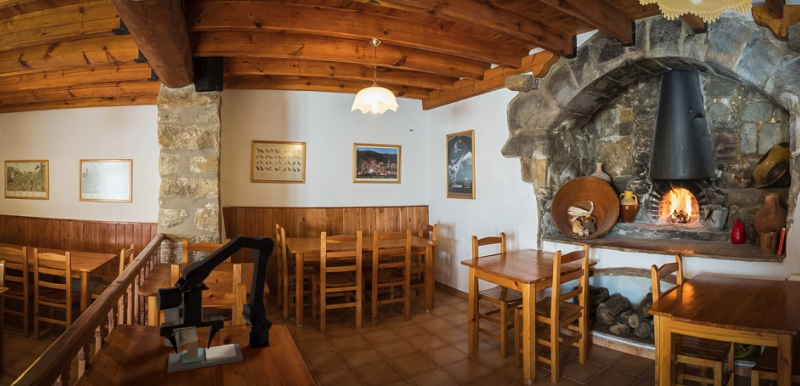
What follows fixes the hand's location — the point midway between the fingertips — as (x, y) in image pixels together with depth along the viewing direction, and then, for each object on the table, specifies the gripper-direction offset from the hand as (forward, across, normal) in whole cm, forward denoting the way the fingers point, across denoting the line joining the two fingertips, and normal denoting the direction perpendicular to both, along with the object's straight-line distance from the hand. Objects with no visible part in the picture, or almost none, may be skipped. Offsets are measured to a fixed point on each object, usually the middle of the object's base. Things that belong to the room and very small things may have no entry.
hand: (192, 351), depth 139 cm
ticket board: (+3, -4, 0) cm, 5 cm away
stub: (+2, 0, 0) cm, 2 cm away
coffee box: (+4, +4, -19) cm, 20 cm away
